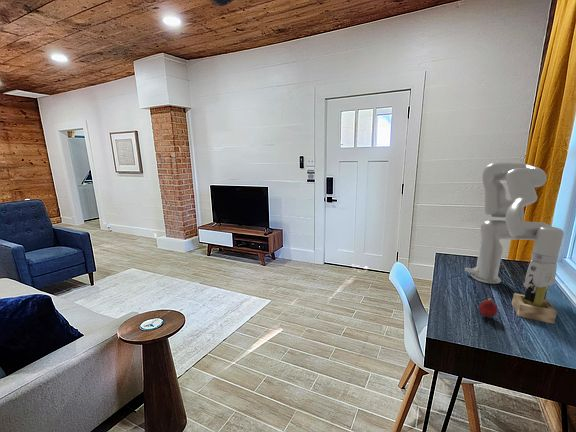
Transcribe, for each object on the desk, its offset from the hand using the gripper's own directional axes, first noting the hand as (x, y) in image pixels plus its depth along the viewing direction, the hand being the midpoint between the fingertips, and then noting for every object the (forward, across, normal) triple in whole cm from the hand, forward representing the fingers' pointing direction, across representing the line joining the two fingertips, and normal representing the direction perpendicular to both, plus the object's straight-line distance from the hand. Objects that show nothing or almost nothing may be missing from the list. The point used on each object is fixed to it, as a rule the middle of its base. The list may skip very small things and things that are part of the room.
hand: (534, 299), depth 112 cm
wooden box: (+6, 0, 0) cm, 6 cm away
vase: (+5, 0, 0) cm, 5 cm away
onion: (+6, -21, +3) cm, 22 cm away
